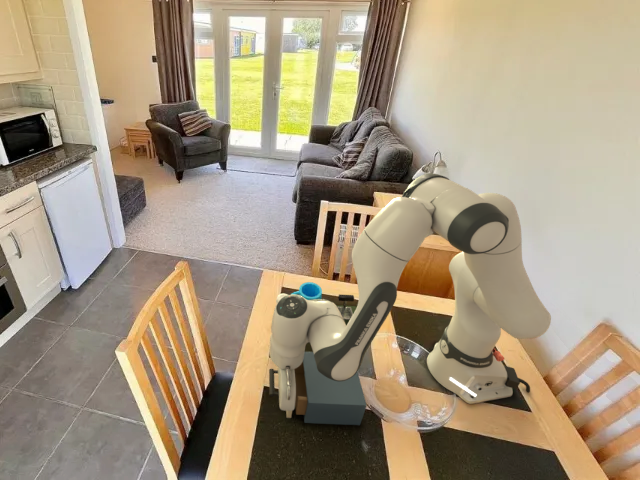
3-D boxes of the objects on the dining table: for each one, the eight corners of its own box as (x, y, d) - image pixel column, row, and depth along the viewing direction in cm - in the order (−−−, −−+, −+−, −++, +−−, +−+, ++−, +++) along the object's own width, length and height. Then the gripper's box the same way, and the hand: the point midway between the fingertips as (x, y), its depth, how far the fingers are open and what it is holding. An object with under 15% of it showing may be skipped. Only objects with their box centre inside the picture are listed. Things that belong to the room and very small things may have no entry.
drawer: (268, 417, 83) (270, 400, 79) (268, 369, 94) (269, 354, 91) (337, 420, 83) (342, 404, 79) (328, 372, 94) (332, 356, 91)
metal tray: (349, 312, 115) (354, 290, 110) (353, 325, 110) (358, 302, 105) (330, 311, 115) (334, 290, 110) (333, 324, 110) (337, 301, 105)
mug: (318, 297, 121) (319, 281, 117) (322, 315, 113) (324, 298, 110) (287, 298, 121) (287, 282, 117) (289, 315, 114) (289, 299, 110)
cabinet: (304, 423, 83) (308, 402, 78) (299, 371, 95) (302, 351, 91) (360, 425, 83) (366, 405, 78) (347, 373, 95) (352, 353, 91)
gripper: (304, 391, 71) (298, 425, 77) (295, 317, 89) (291, 350, 95) (276, 390, 71) (272, 424, 77) (273, 317, 89) (271, 349, 95)
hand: (283, 382), depth 86 cm, fingers closed, pressing on drawer
